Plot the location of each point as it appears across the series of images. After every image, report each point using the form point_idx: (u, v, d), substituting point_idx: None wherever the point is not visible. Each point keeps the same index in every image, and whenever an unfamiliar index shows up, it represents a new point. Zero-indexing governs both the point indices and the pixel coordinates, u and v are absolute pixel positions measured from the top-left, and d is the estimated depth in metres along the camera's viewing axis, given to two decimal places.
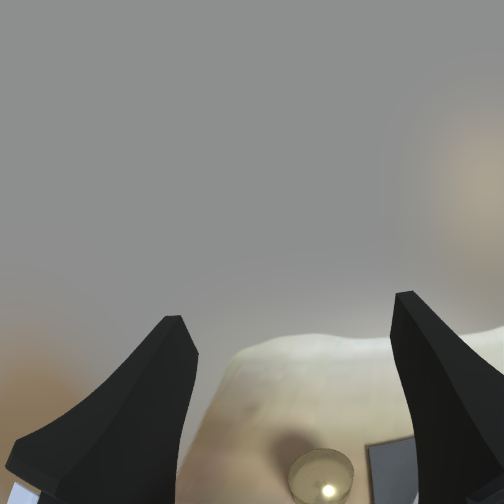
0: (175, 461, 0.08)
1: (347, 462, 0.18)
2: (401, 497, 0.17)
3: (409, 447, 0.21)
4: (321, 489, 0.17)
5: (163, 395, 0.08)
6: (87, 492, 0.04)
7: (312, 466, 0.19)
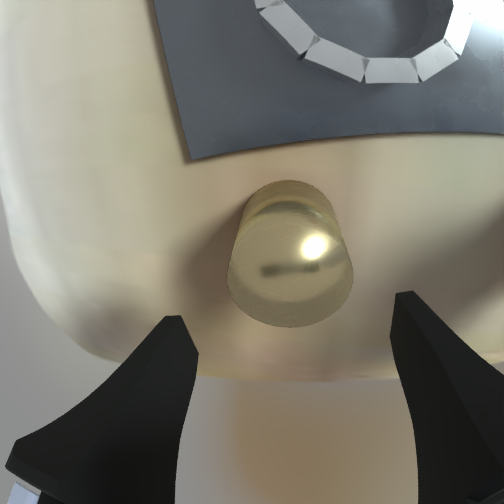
0: (175, 461, 0.08)
1: (258, 240, 0.11)
2: (311, 89, 0.12)
3: (192, 79, 0.12)
4: (323, 277, 0.12)
5: (163, 395, 0.08)
6: (87, 492, 0.04)
7: (271, 297, 0.12)
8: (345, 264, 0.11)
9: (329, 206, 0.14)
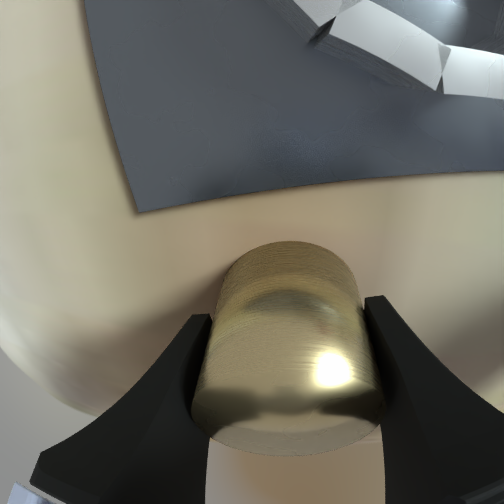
0: (205, 464, 0.08)
1: (235, 384, 0.06)
2: (332, 95, 0.07)
3: (132, 83, 0.07)
4: (339, 419, 0.07)
5: None
6: None
7: (260, 435, 0.07)
8: (376, 406, 0.06)
9: (352, 286, 0.09)
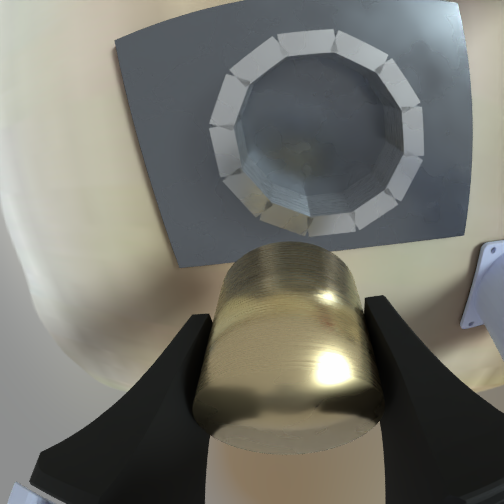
0: (205, 464, 0.08)
1: (237, 383, 0.06)
2: None
3: (176, 209, 0.17)
4: (339, 418, 0.07)
5: (194, 397, 0.08)
6: None
7: (260, 434, 0.07)
8: (375, 404, 0.06)
9: (352, 287, 0.09)
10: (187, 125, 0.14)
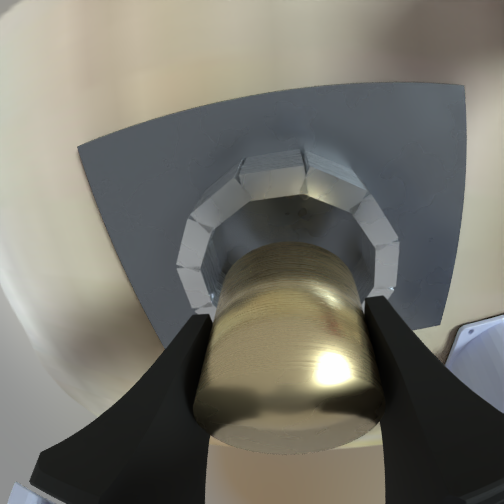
0: (205, 464, 0.08)
1: (239, 383, 0.06)
2: None
3: (158, 309, 0.17)
4: (339, 418, 0.07)
5: (194, 397, 0.08)
6: None
7: (261, 434, 0.07)
8: (376, 404, 0.06)
9: (353, 287, 0.09)
10: (160, 241, 0.15)
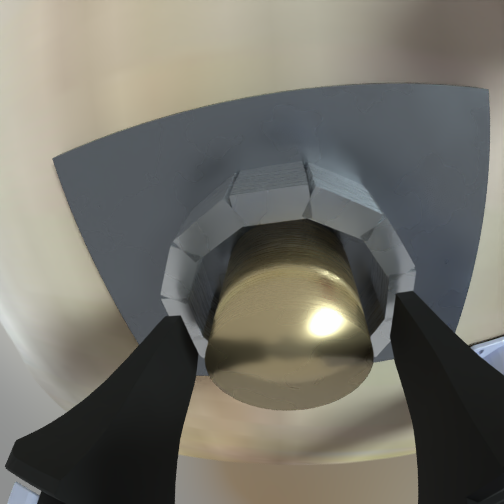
0: (175, 461, 0.08)
1: (246, 323, 0.08)
2: None
3: (147, 333, 0.16)
4: (333, 365, 0.08)
5: (163, 395, 0.08)
6: (87, 492, 0.04)
7: (264, 383, 0.09)
8: (365, 351, 0.08)
9: (344, 256, 0.11)
10: (145, 263, 0.13)
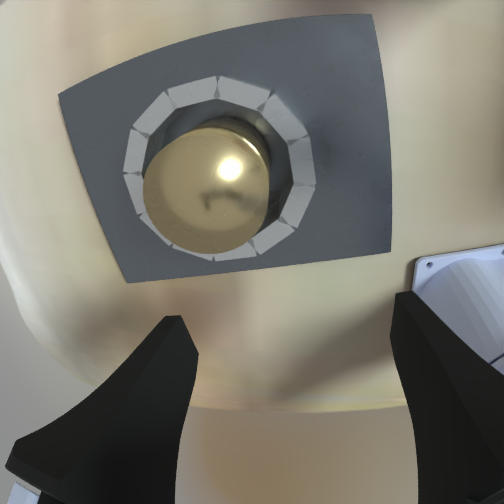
0: (175, 461, 0.08)
1: (167, 152, 0.11)
2: None
3: (118, 235, 0.19)
4: (235, 192, 0.11)
5: (163, 395, 0.08)
6: (87, 492, 0.04)
7: (186, 217, 0.12)
8: (256, 176, 0.11)
9: (257, 137, 0.14)
10: (118, 166, 0.16)
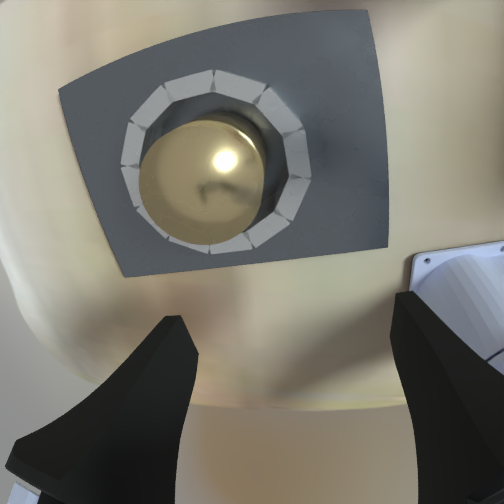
0: (175, 461, 0.08)
1: (162, 143, 0.11)
2: None
3: (116, 229, 0.19)
4: (229, 182, 0.11)
5: (163, 395, 0.08)
6: (87, 492, 0.04)
7: (181, 207, 0.12)
8: (250, 166, 0.11)
9: (253, 130, 0.14)
10: (116, 160, 0.16)
